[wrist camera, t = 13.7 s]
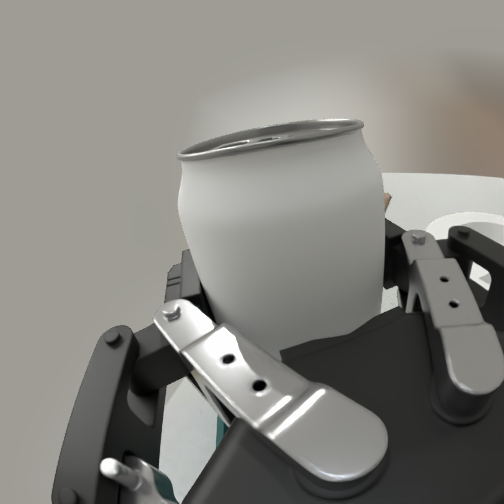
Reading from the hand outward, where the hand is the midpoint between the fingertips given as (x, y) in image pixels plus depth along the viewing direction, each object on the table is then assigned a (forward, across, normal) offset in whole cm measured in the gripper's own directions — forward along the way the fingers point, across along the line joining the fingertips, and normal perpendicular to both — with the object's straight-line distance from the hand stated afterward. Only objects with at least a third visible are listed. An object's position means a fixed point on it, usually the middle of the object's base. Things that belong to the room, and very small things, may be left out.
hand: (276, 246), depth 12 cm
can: (-2, 0, +7) cm, 8 cm away
